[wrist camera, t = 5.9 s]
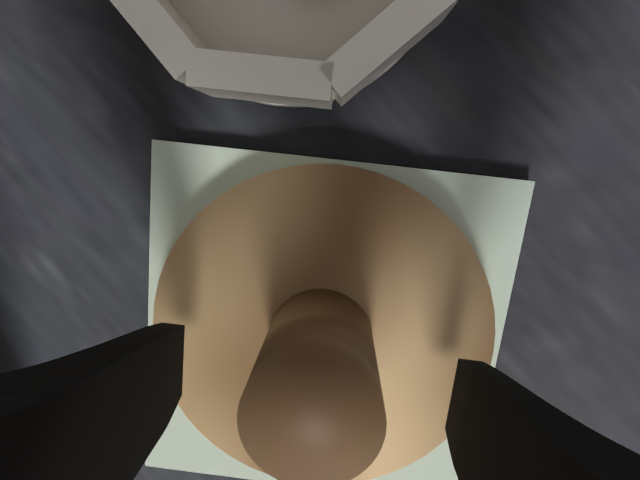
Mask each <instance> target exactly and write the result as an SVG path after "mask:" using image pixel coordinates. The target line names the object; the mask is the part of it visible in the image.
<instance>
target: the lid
mask: <svg viewBox="0 0 640 480" xmlns="http://www.w3.org/2000/svg"><path fill="white" fill-rule="evenodd" d="M162 322H163V323H171V324H179V325H185V334H184V358H183V383H182V396H181V398H180V400H179V403H178V405H179V406H180V408H181V409H182V411H183V412H184V414H185V415H186V417H187V418H188V419H189V420H190V421H191V422H192V424H193V425H194V426H195V427H196V428H197V429H198V430H199V432H201V433H202V434H203V435H204V436H205V437H206V438H207V439H208V440H209V441H211V442H212V443H213V444H214V445H215V446H216V447H218V448H219V449H221V450H222V451H224V452H225V453H226V454H228V455H229V456H231V457H232V458H234V459H236V460H238V461H240V462H241V463H243V464H245V465H247V466H249V467H251V468H253V469H256V470H258V471H261V472H263V473H266V474H268V475H270V476H272V477H273V478H275V479H277V480H370V479H374V478H377V477H380V476H383V475H387V474H390V473H392V472H395V471H397V470H399V469H401V468H404V467H406V466H408V465H410V464H412V463H413V462H415V461H417V460H419V459H420V458H422V457H424V456H425V455H427V454H428V453H430V452H431V451H432V450H433V449H435V448H436V447H437V446H439V445H440V444H441V443H442V442H444V441H445V440H446V439H447V436H446V431H445V425H446V420H447V414H448V409H449V404H450V399H451V394H452V389H453V383H454V378H455V373H456V368H457V363H458V358H460V359H468V360H476V361H483V362H485V363H487V364H489V365H491V361H492V357H493V351H494V341H495V311H494V305H493V300H492V294H491V289H490V286H489V283H488V280H487V277H486V274H485V271H484V269H483V266H482V265H481V263H480V261H479V259H478V257H477V255H476V253H475V251H474V249H473V247H472V246H471V244H470V243H469V241H468V240H467V239H466V237H465V236H464V234H463V233H462V231H461V230H460V229H459V228H458V227H457V226H456V224H455V223H454V222H453V221H452V220H451V219H450V218H449V217H448V216H447V215H446V214H445V213H444V212H443V211H442V210H441V209H440V208H438V207H437V206H436V205H435V204H433V203H432V202H431V201H430V200H429V199H427V198H426V197H425V196H423V195H421V194H420V193H418V192H416V191H415V190H413V189H411V188H410V187H408V186H407V185H405V184H403V183H401V182H399V181H396V180H394V179H392V178H389V177H387V176H385V175H383V174H380V173H377V172H373V171H370V170H366V169H363V168H359V167H354V166H347V165H340V164H305V165H296V166H289V167H285V168H282V169H278V170H274V171H270V172H266V173H263V174H261V175H258V176H256V177H253V178H251V179H248V180H246V181H244V182H241V183H240V184H238V185H236V186H234V187H233V188H231V189H229V190H228V191H226V192H224V193H222V194H221V195H220V196H218V197H217V198H216V199H215V200H213V201H212V202H211V203H209V204H208V205H207V206H206V207H204V208H203V209H202V210H201V211H200V212H199V214H198V215H197V216H196V217H195V218H194V219H193V220H192V221H191V222H190V223H189V224H188V225H187V227H186V228H185V229H184V231H183V232H182V234H181V235H180V236H179V238H178V239H177V240H176V242H175V244H174V246H173V248H172V250H171V251H170V253H169V255H168V257H167V259H166V261H165V264H164V267H163V269H162V272H161V275H160V278H159V281H158V285H157V290H156V295H155V300H154V314H153V325H154V324H157V323H162Z"/></svg>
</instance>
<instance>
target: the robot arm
mask: <svg viewBox="0 0 640 480" xmlns="http://www.w3.org/2000/svg"><path fill="white" fill-rule="evenodd" d="M184 334H185V325H179V324H171V323H163V322H162V323H157V324H154V325H150V326H147V327H144V328H141V329H139V330H136V331H133V332H131V333H128V334H125V335H123V336H120V337H117V338H115V339H112V340H109V341H107V342H104V343H101V344H99V345H96V346H93V347H90V348H87V349H84V350H81V351H78V352H75V353H73V354H70V355H67V356H64V357H61V358H58V359H55V360H51V361H48V362H45V363H41V364H38V365H34V366H30V367H26V368H22V369H19V370H15V371H11V372H7V373H2V374H0V480H133V479H134V478H135V476H136V475H137V473H138V472H139V470H140V469H141V467H142V465H143V464H144V462H145V461H146V459H147V458H148V456H149V455H150V453H151V452H152V450H153V449H154V447H155V445H156V444H157V442H158V441H159V439H160V438H161V436H162V434H163V433H164V431H165V430H166V428H167V426H168V424H169V422H170V420H171V418H172V416H173V414H174V412H175V409H176V407H177V405H178V403H179V400H180V398H181V396H182V383H183V358H184ZM445 431H446V436H447V440H448V445H449V450H450V454H451V458H452V462H453V466H454V469H455V472H456V475H457V477H458V480H640V455H639V454H637V453H635V452H633V451H631V450H630V449H628V448H626V447H624V446H622V445H620V444H618V443H616V442H614V441H612V440H610V439H608V438H606V437H604V436H603V435H601V434H599V433H597V432H595V431H594V430H592V429H590V428H588V427H587V426H585V425H583V424H582V423H580V422H578V421H577V420H575V419H573V418H572V417H570V416H568V415H567V414H565V413H563V412H562V411H560V410H559V409H557V408H555V407H554V406H552V405H551V404H549V403H548V402H546V401H545V400H543V399H541V398H540V397H538V396H537V395H535V394H534V393H532V392H531V391H529V390H528V389H526V388H525V387H523V386H522V385H520V384H519V383H517V382H516V381H514V380H513V379H511V378H510V377H508V376H507V375H505V374H504V373H502V372H501V371H499V370H497V369H496V368H494V367H492V366H491V365H489V364H487V363H485V362H483V361H476V360H468V359H460V358H458V363H457V368H456V373H455V378H454V383H453V389H452V394H451V399H450V404H449V409H448V414H447V420H446V425H445Z"/></svg>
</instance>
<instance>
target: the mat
mask: <svg viewBox="0 0 640 480" xmlns="http://www.w3.org/2000/svg"><path fill="white" fill-rule="evenodd" d="M305 164H340V165H347V166H354V167H359V168H363V169H366V170H370V171H373V172H377V173H380V174H383V175H385V176H387V177H389V178H392V179H394V180H396V181H399V182H401V183H403V184H405V185H407V186H408V187H410V188H411V189H413V190H415V191H416V192H418V193H420V194H421V195H423V196H425V197H426V198H427V199H429V200H430V201H431V202H432V203H433V204H435V205H436V206H437V207H438V208H440V209H441V210H442V211H443V212H444V213H445V214H446V215H447V216H448V217H449V218H450V219H451V220H452V221H453V222H454V223H455V224H456V226H457V227H458V228H459V229H460V230H461V231H462V233H463V234H464V236H465V237H466V239H467V240H468V241H469V243H470V244H471V246H472V247H473V249H474V251H475V253H476V255H477V257H478V259H479V261H480V263H481V265H482V266H483V269H484V271H485V274H486V277H487V280H488V283H489V286H490V289H491V294H492V300H493V305H494V311H495V341H494V351H493V357H492V361H491V366H492V367H494V368H495V366H496V361H497V356H498V352H499V347H500V342H501V338H502V333H503V329H504V324H505V319H506V315H507V310H508V305H509V301H510V296H511V291H512V287H513V282H514V277H515V273H516V268H517V263H518V259H519V254H520V250H521V245H522V240H523V236H524V231H525V226H526V222H527V217H528V212H529V208H530V203H531V198H532V194H533V189H534V184H535V182H534V181H528V180H519V179H510V178H501V177H492V176H483V175H473V174H464V173H455V172H446V171H437V170H428V169H419V168H410V167H401V166H391V165H382V164H373V163H364V162H355V161H346V160H337V159H328V158H319V157H309V156H300V155H291V154H282V153H273V152H264V151H255V150H246V149H237V148H227V147H218V146H209V145H200V144H191V143H182V142H173V141H164V140H152V150H151V200H150V250H149V300H148V326H150V325H153V314H154V300H155V295H156V290H157V285H158V281H159V278H160V275H161V272H162V269H163V267H164V264H165V261H166V259H167V257H168V255H169V253H170V251H171V250H172V248H173V246H174V244H175V242H176V240H177V239H178V238H179V236H180V235H181V234H182V232H183V231H184V229H185V228H186V227H187V225H188V224H189V223H190V222H191V221H192V220H193V219H194V218H195V217H196V216H197V215H198V214H199V212H200V211H201V210H202V209H203V208H204V207H206V206H207V205H208V204H209V203H211V202H212V201H213V200H215V199H216V198H217V197H218V196H220V195H221V194H222V193H224V192H226V191H228V190H229V189H231V188H233V187H234V186H236V185H238V184H240V183H241V182H244V181H246V180H248V179H251V178H253V177H256V176H258V175H261V174H263V173H266V172H270V171H274V170H278V169H282V168H285V167H289V166H296V165H305ZM145 466H151V467H159V468H166V469H174V470H182V471H189V472H197V473H205V474H212V475H220V476H228V477H235V478H243V479H251V480H277V479H275V478H273V477H272V476H270V475H268V474H266V473H263V472H261V471H258V470H256V469H253V468H251V467H249V466H247V465H245V464H243V463H241V462H240V461H238V460H236V459H234V458H232V457H231V456H229V455H228V454H226V453H225V452H224V451H222V450H221V449H219V448H218V447H216V446H215V445H214V444H213V443H212V442H211V441H209V440H208V439H207V438H206V437H205V436H204V435H203V434H202V433H201V432H199V430H198V429H197V428H196V427H195V426H194V425H193V424H192V422H191V421H190V420H189V419H188V418H187V417H186V415H185V414H184V412H183V411H182V409H181V408H180V406H179V405H177V407H176V409H175V412H174V414H173V416H172V418H171V420H170V422H169V424H168V426H167V428H166V430H165V431H164V433H163V434H162V436H161V438H160V439H159V441H158V442H157V444H156V445H155V447H154V449H153V450H152V452H151V453H150V455H149V456H148V458H147V459H146V461H145ZM370 480H458V477H457V475H456V472H455V469H454V466H453V462H452V458H451V454H450V450H449V445H448V440H447V439H446V440H445V441H444V442H442V443H441V444H440V445H439V446H437V447H436V448H435V449H433V450H432V451H431V452H430V453H428V454H427V455H425V456H424V457H422V458H420V459H419V460H417V461H415V462H413V463H412V464H410V465H408V466H406V467H404V468H401V469H399V470H397V471H395V472H392V473H390V474H387V475H383V476H380V477H377V478H374V479H370Z"/></svg>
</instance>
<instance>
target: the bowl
mask: <svg viewBox="0 0 640 480" xmlns="http://www.w3.org/2000/svg"><path fill="white" fill-rule="evenodd" d="M110 1H111V3H112V4H113V5H114V6H115V7H116V9H117V10H118V11H119V12H120V13H121V15H122V16H123V17H124V18H125V20H126V21H127V22H128V23H129V24H130V26H131V27H132V28H133V29H134V30H135V32H136V33H137V34H138V35H139V37H140V38H141V39H142V40H143V41H144V43H145V44H146V45H147V46H148V47H149V49H150V50H151V51H152V52H153V54H154V55H155V56H156V57H157V58H158V60H159V61H160V62H161V63H162V65H163V66H164V67H165V68H166V69H167V71H168V72H169V73H170V74H171V75H172V77H173V78H174V79H175V80H177V81H179V82H181V83H184V84H186V86H188V87H190V88H192V89H195V90H197V91H200V92H202V93H205V94H207V95H209V96H212V97H219V98H228V99H237V100H247V101H252V102H255V103H258V104H264V105H269V106H275V107H292V108H298V107H312V108H322V109H331V110H332V104H333V101H336V100H337V102H338V103H339V104H340V106H343V105H344V104H345V103H346V102H347V101H349V100H350V99H351V98H352V97H353V96H355V95H356V94H357V93H358V92H359V91H360V90H362V89H363V88H365V87H366V86H368V85H370V84H371V83H373V82H374V81H375V80H377V79H378V78H379V77H381V76H382V75H383V74H385V73H386V72H387V71H388V70H389V69H390V68H391V67H392V66H394V65H395V64H396V63H397V62H398V61H399V60H400V59H401V58H402V57H403V55H404V54H405V53H406V52H407V51H408V50H409V49H411V48H412V47H413V46H414V45H415V44H416V43H418V42H419V41H420V40H421V39H422V38H424V37H425V36H426V35H427V34H428V33H430V32H431V31H432V30H433V29H434V28H436V27H437V26H438V25H439V24H440V23H441V22H442V21H443V20H444V19H445V17H446V16H447V15H448V13H449V12H450V11H451V10H452V8H453V7H454V6H455V5H456V3H457V2H458V1H459V0H110Z"/></svg>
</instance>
